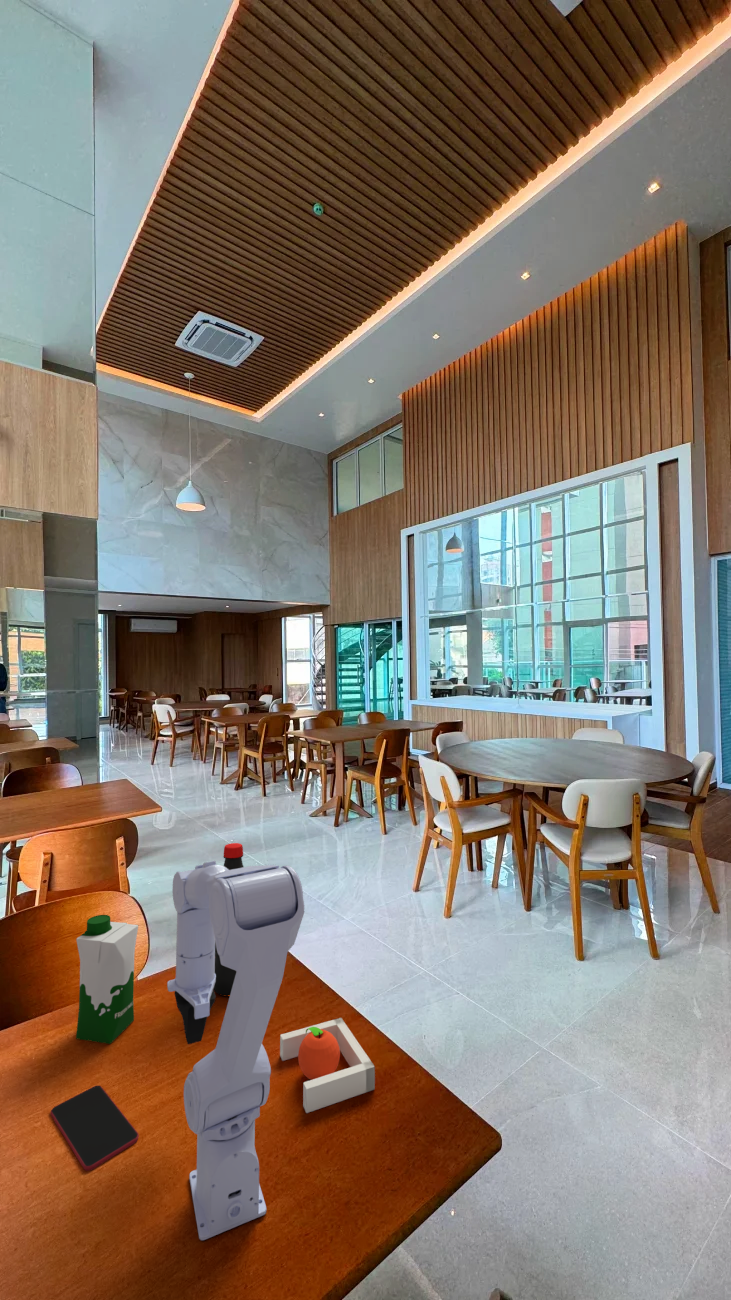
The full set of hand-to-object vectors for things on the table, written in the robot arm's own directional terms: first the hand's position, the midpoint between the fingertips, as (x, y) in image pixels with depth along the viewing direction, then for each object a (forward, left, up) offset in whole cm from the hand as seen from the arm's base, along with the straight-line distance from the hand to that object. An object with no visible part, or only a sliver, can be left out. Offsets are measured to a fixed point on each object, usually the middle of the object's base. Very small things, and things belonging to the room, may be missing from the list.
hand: (193, 1040), depth 84 cm
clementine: (-1, -20, -11) cm, 22 cm away
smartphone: (+3, +14, -11) cm, 18 cm away
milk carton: (+27, +12, -11) cm, 31 cm away
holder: (-1, -21, -10) cm, 24 cm away
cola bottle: (+31, -12, -11) cm, 35 cm away
